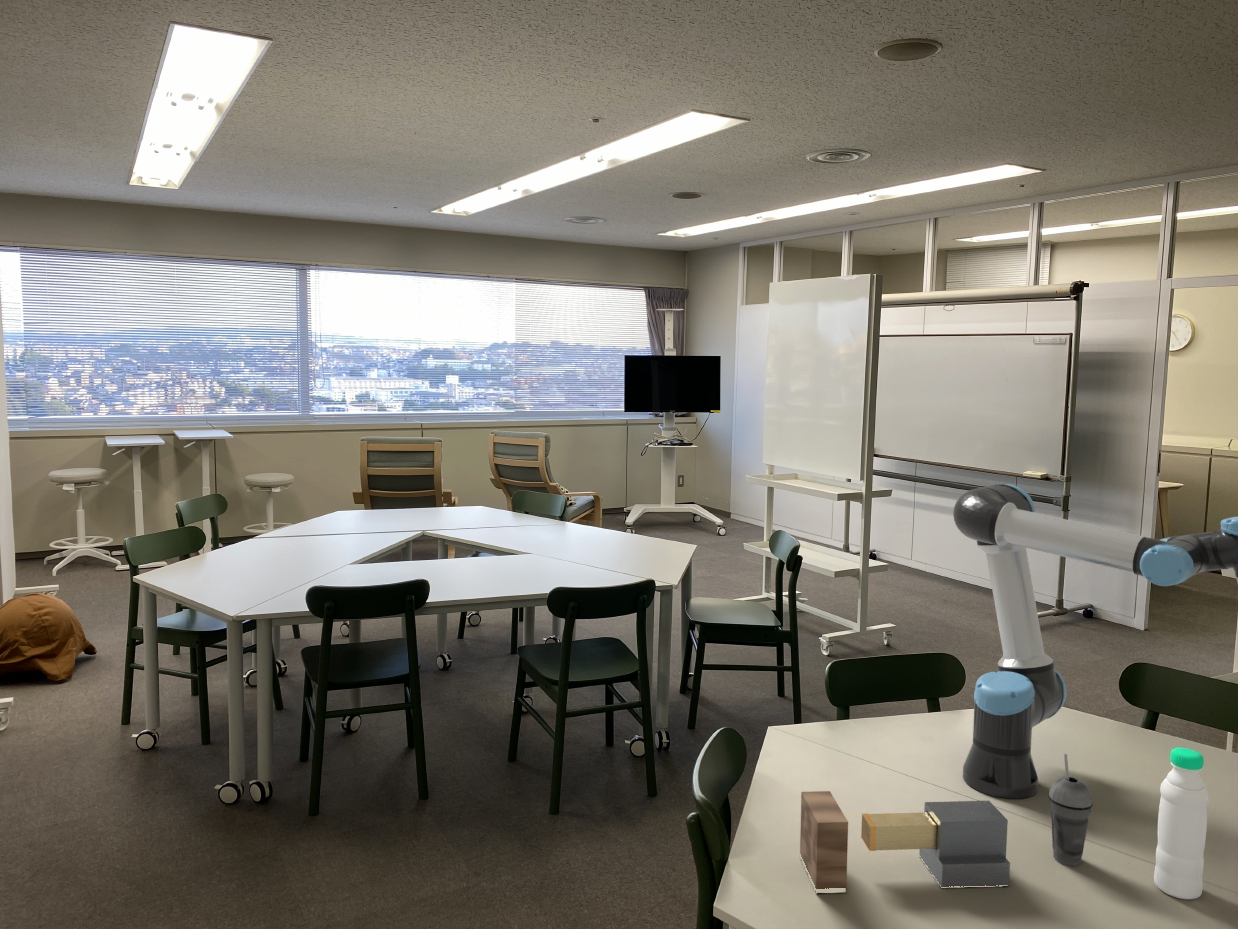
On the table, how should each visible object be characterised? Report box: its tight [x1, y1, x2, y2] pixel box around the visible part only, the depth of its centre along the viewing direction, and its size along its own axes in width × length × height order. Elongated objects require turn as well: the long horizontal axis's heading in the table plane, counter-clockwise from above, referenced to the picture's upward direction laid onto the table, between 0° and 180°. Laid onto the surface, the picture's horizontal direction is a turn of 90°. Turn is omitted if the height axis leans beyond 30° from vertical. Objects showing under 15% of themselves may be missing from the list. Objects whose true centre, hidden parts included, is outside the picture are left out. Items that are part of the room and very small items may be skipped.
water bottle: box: [1153, 747, 1210, 900], centre depth 150 cm, size 7×7×25 cm
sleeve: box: [918, 800, 1011, 888], centre depth 156 cm, size 10×12×12 cm
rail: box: [860, 812, 938, 852], centre depth 155 cm, size 4×22×4 cm, turn 93°
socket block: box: [799, 790, 849, 889], centre depth 155 cm, size 11×5×13 cm, turn 3°
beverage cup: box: [1048, 753, 1094, 867], centre depth 159 cm, size 7×7×20 cm
